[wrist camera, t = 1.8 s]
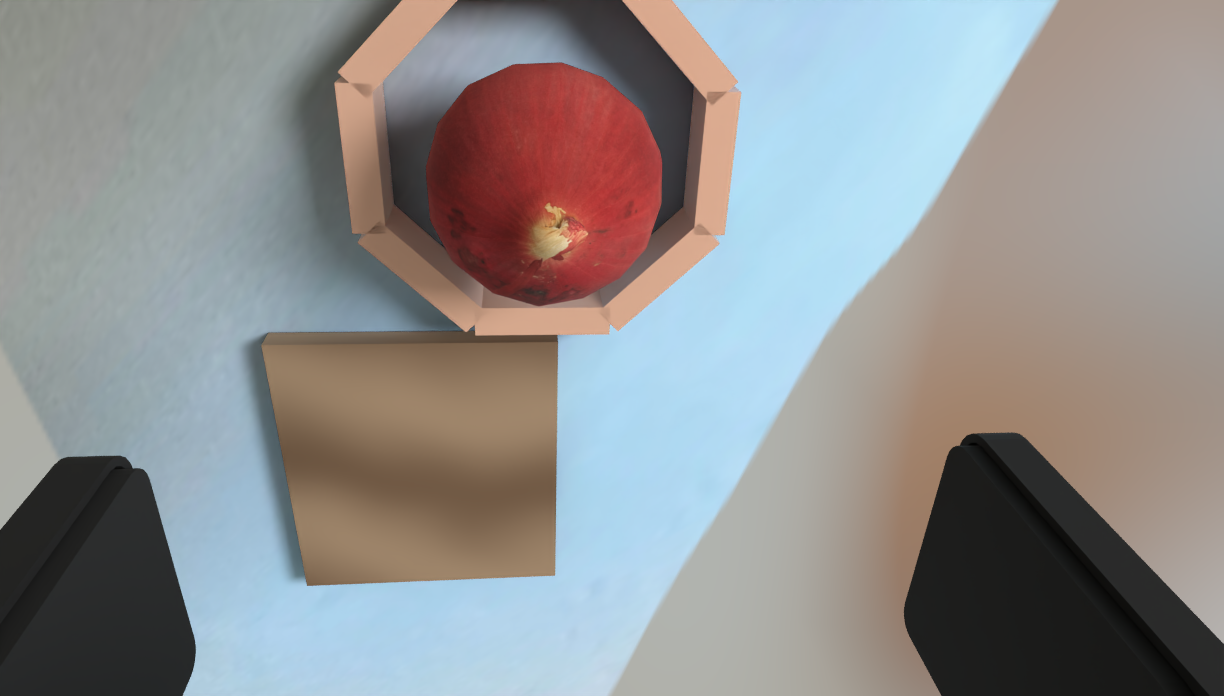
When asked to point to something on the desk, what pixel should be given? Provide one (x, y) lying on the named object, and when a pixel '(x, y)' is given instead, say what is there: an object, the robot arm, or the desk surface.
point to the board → (418, 453)
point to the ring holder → (431, 263)
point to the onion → (544, 182)
